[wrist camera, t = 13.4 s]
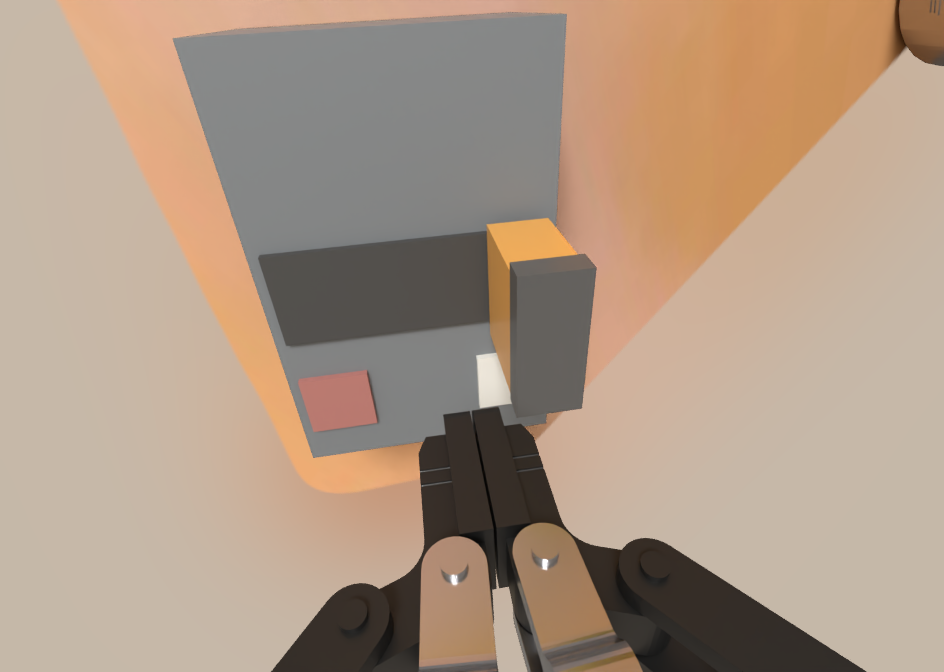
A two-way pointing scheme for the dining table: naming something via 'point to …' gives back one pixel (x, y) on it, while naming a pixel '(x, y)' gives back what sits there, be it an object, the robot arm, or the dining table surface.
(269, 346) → the dining table surface
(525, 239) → the breaker handle
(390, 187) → the breaker box
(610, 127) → the dining table surface
